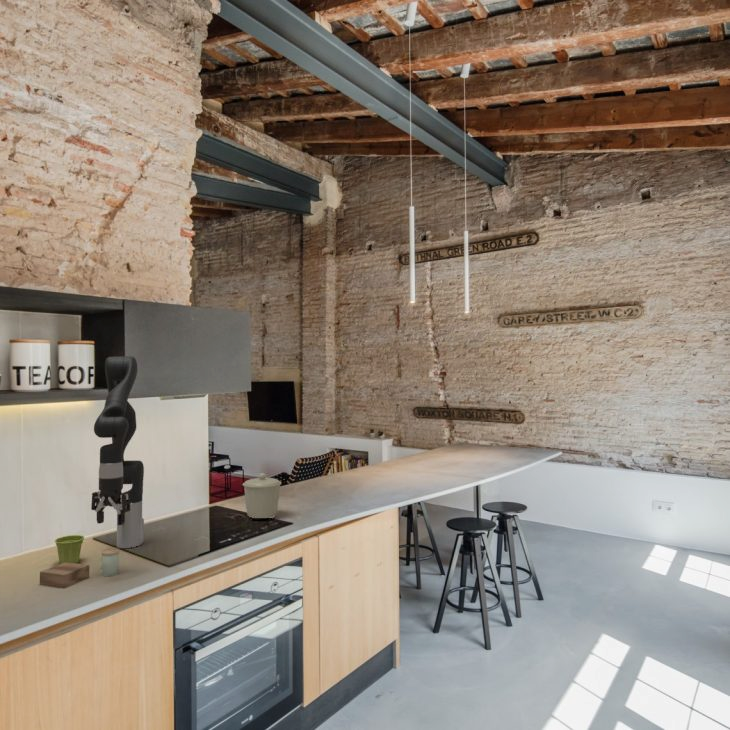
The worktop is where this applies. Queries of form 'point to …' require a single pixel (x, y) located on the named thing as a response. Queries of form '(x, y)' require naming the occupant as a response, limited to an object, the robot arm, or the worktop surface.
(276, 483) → the canister
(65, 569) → the plinth
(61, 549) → the plant pot
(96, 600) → the worktop surface
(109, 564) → the jar
